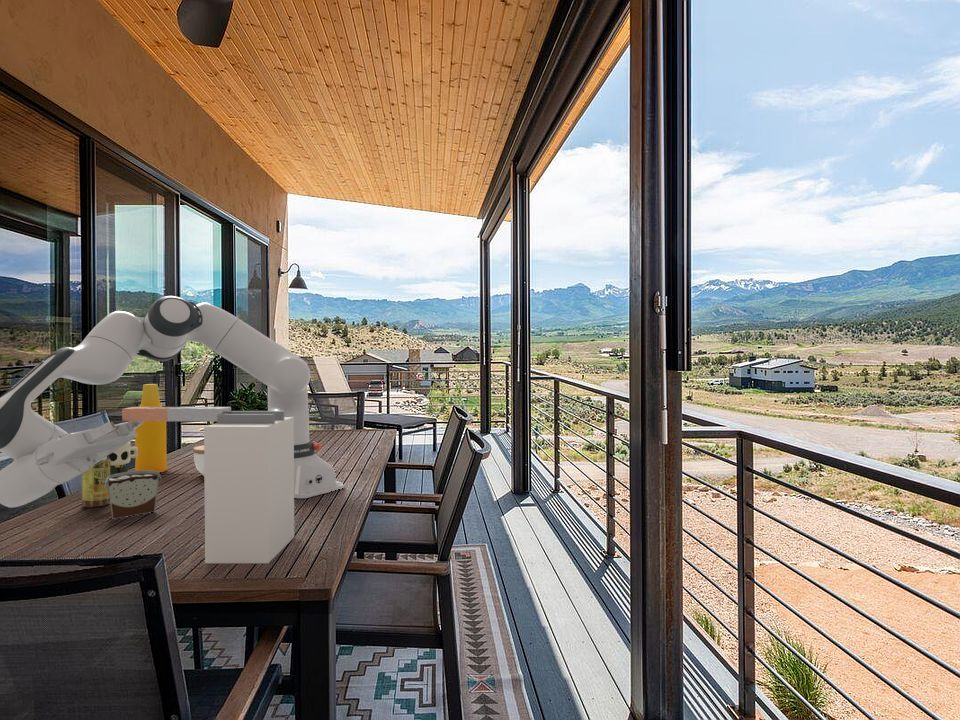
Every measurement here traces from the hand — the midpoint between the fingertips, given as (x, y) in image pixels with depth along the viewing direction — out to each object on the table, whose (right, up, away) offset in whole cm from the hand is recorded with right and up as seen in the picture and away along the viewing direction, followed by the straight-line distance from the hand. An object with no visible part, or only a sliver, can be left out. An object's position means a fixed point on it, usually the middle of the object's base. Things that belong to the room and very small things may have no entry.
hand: (126, 422), depth 122 cm
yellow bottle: (-38, -25, +78) cm, 90 cm away
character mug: (-36, -25, +57) cm, 72 cm away
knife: (+10, 0, 0) cm, 10 cm away
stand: (+25, -26, +1) cm, 36 cm away
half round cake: (-15, -26, +27) cm, 40 cm away
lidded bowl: (-14, -25, +73) cm, 79 cm away
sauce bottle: (-28, -25, +35) cm, 52 cm away
